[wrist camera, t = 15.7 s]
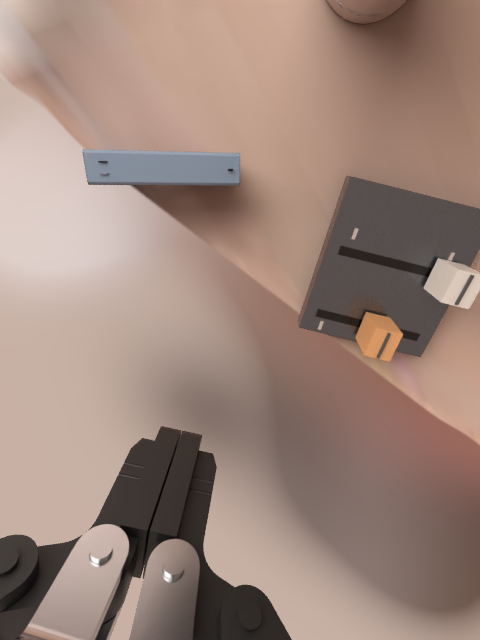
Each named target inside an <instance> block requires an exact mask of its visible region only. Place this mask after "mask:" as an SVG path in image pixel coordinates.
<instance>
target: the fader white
mask: <svg viewBox="0 0 480 640" xmlns="http://www.w3.org/2000/svg"><path fill="white" fill-rule="evenodd" d="M424 289H425V290H426V291H427V292H429V293H430V294H431V295H432V296H434V297H435V298H436V299H437V300H439V301H440V302H441V303H445V304H449V305H453V306H457V307H462V308H466V309H469V308H470V307H471V305H472V303H473V301H474V300H475V298H476V296H477V294H478V293H479V291H480V272H478V271H476V270H474V269H472V268H470V267H468V266H466V265H464V264H460V263H456V262H452V261H448V260H444V259H440V258H438V259H437V261H436V263H435V265H434V268H433V270H432V272H431V274H430V276H429V278H428V280H427V282H426V284H425V286H424Z"/></svg>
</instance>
